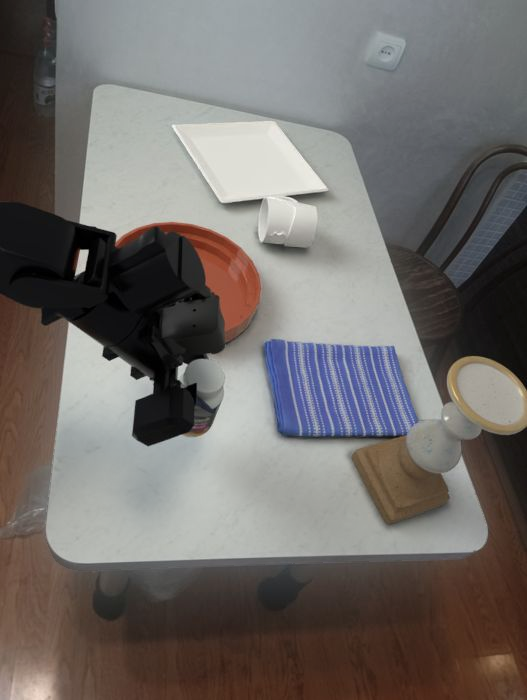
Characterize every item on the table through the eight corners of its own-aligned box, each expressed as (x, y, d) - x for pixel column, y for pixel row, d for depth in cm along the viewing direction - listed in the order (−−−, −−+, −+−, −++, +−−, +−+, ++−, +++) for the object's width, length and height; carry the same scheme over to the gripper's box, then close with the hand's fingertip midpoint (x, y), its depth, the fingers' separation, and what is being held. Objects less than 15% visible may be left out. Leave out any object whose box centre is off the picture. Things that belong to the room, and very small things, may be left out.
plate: (219, 210, 105) (221, 202, 104) (170, 132, 117) (171, 123, 116) (326, 197, 117) (330, 189, 116) (272, 127, 129) (274, 119, 128)
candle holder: (408, 438, 83) (498, 345, 65) (446, 503, 78) (555, 422, 60) (349, 455, 79) (428, 360, 61) (385, 526, 73) (484, 445, 55)
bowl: (99, 347, 79) (100, 330, 76) (107, 232, 94) (107, 214, 91) (264, 355, 86) (270, 340, 83) (246, 246, 101) (251, 230, 98)
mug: (307, 259, 103) (320, 227, 97) (259, 252, 101) (270, 219, 95) (300, 218, 110) (312, 186, 104) (255, 211, 108) (265, 178, 102)
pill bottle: (164, 434, 66) (175, 391, 58) (172, 395, 70) (183, 350, 62) (210, 442, 67) (227, 401, 59) (215, 404, 71) (231, 360, 63)
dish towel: (259, 344, 87) (263, 333, 85) (390, 350, 94) (397, 340, 92) (274, 439, 77) (280, 430, 75) (420, 439, 84) (428, 430, 82)
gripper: (184, 373, 44) (276, 444, 55) (189, 223, 55) (264, 307, 66) (82, 414, 48) (187, 472, 59) (106, 266, 59) (190, 339, 70)
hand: (210, 392), depth 64 cm, fingers closed on pill bottle, 6 cm apart
